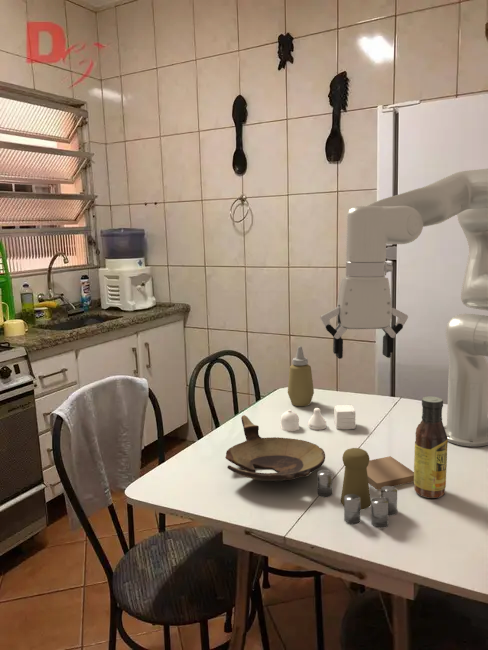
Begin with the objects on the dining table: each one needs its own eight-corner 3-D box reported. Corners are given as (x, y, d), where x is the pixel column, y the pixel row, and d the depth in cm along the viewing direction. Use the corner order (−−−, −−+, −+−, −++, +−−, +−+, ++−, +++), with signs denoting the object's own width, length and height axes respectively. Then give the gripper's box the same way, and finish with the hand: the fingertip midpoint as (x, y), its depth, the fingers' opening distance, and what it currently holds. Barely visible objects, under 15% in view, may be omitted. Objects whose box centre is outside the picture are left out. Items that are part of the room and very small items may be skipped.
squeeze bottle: (286, 407, 164) (285, 350, 160) (288, 399, 172) (287, 343, 168) (313, 408, 163) (312, 350, 159) (314, 399, 170) (313, 343, 167)
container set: (352, 423, 150) (352, 404, 149) (355, 430, 145) (355, 411, 144) (280, 425, 151) (279, 406, 150) (280, 432, 146) (280, 413, 145)
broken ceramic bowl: (225, 503, 110) (223, 468, 109) (226, 443, 140) (225, 415, 138) (334, 498, 110) (334, 463, 109) (313, 439, 140) (312, 411, 138)
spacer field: (361, 481, 117) (361, 462, 116) (409, 521, 101) (410, 499, 100) (315, 491, 113) (315, 471, 112) (357, 534, 97) (357, 511, 97)
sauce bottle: (441, 502, 107) (445, 407, 103) (409, 495, 110) (411, 402, 106) (448, 488, 112) (452, 397, 109) (418, 481, 116) (420, 392, 112)
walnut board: (390, 462, 125) (390, 456, 125) (417, 481, 116) (417, 474, 116) (352, 470, 122) (352, 463, 122) (377, 490, 113) (377, 483, 113)
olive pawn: (371, 511, 105) (372, 458, 103) (340, 508, 106) (339, 456, 104) (370, 495, 111) (371, 445, 109) (340, 493, 112) (340, 443, 110)
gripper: (402, 269, 110) (398, 351, 113) (317, 270, 109) (316, 353, 112) (416, 271, 102) (411, 360, 105) (325, 272, 101) (323, 362, 104)
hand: (362, 356), depth 108 cm, fingers open, 9 cm apart
